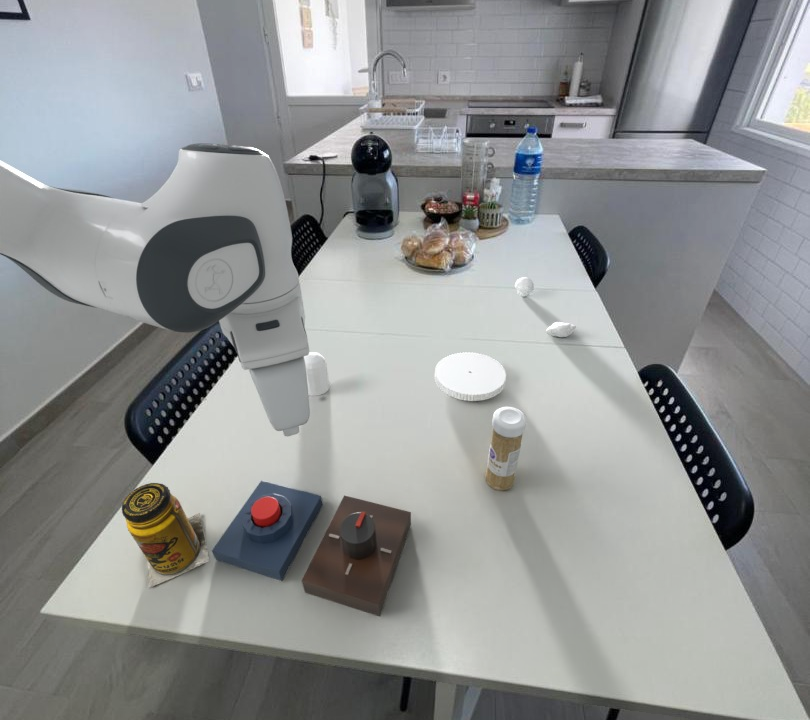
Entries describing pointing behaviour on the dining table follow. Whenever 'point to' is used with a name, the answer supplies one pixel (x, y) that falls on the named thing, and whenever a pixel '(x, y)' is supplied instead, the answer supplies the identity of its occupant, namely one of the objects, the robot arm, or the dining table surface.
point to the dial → (358, 535)
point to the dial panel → (358, 578)
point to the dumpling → (561, 329)
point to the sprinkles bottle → (504, 447)
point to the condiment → (164, 532)
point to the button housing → (269, 532)
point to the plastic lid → (470, 376)
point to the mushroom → (524, 286)
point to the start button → (265, 511)
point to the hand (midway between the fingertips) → (283, 406)
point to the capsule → (316, 374)
